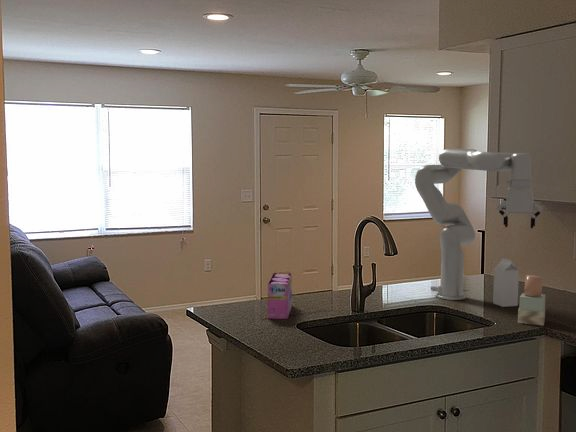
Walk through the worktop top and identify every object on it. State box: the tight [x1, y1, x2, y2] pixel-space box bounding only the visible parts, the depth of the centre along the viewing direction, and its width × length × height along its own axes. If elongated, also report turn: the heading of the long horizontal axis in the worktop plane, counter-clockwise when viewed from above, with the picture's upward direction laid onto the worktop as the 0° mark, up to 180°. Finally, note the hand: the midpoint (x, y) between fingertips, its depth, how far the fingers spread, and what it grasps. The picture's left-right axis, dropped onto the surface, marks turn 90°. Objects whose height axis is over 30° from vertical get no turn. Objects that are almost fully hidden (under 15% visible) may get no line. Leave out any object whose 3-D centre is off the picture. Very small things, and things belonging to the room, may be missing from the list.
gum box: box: [267, 272, 293, 320], centre depth 260 cm, size 24×8×14 cm, turn 175°
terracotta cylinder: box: [523, 274, 544, 297], centre depth 245 cm, size 6×6×7 cm
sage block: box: [518, 292, 546, 312], centre depth 246 cm, size 8×8×5 cm
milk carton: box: [492, 258, 520, 308], centre depth 273 cm, size 7×7×19 cm
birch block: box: [517, 307, 546, 327], centre depth 246 cm, size 9×9×5 cm
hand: (518, 227), depth 262 cm, fingers open, 9 cm apart
